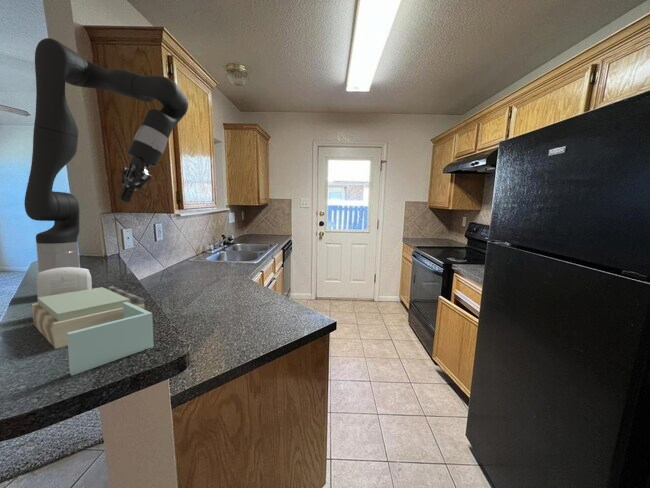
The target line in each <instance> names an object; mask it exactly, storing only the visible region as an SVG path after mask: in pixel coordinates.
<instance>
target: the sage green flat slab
mask: <svg viewBox="0 0 650 488" xmlns="http://www.w3.org/2000/svg"><path fill="white" fill-rule="evenodd" d="M36 300H37V303H38V304H39V305H40V306H41V307H42V308H43V309H44V310H46V311H47V312H48V313H49V314H50V315H51V316H53V317H54V318H55V319H56V320H57V321H62V320H67V319H71V318H76V317H80V316H85V315H89V314H94V313H98V312H103V311H107V310H112V309H116V308H121V307H123V303H124V302H129V303H130V299H129V298H126V297H124V296H122V295H119V294H117V293H115V292H112V291H110V290H109V289H108V288H105V287H103V286H102V287H94V288H92V289H88V290H82V291H76V292H69V293H63V294H57V295H51V296H45V297H38V296H37V299H36Z"/></svg>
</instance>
